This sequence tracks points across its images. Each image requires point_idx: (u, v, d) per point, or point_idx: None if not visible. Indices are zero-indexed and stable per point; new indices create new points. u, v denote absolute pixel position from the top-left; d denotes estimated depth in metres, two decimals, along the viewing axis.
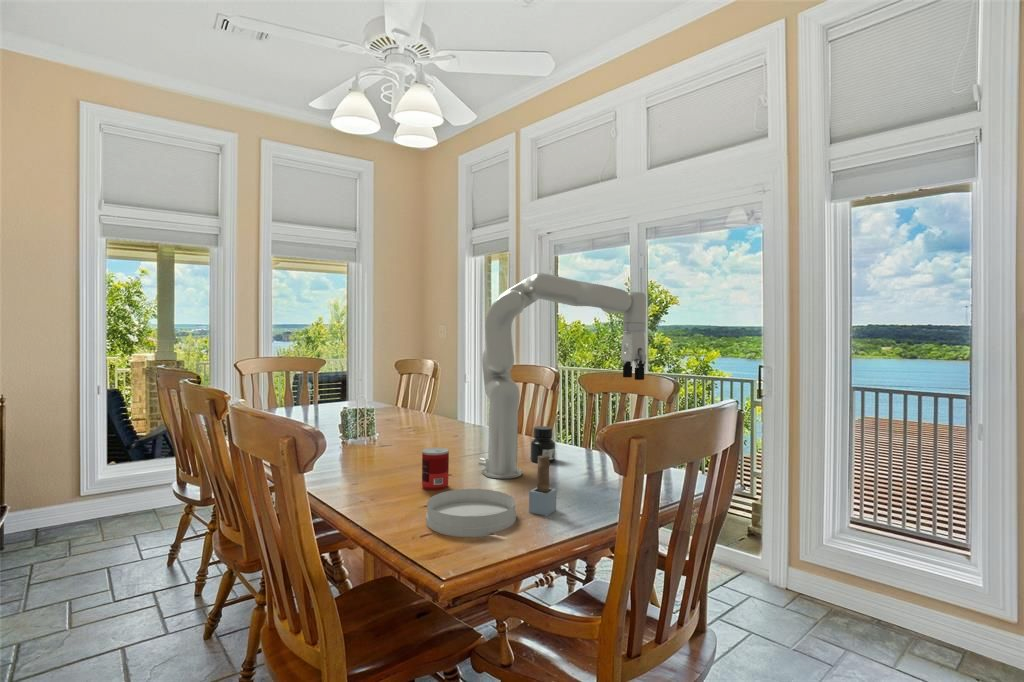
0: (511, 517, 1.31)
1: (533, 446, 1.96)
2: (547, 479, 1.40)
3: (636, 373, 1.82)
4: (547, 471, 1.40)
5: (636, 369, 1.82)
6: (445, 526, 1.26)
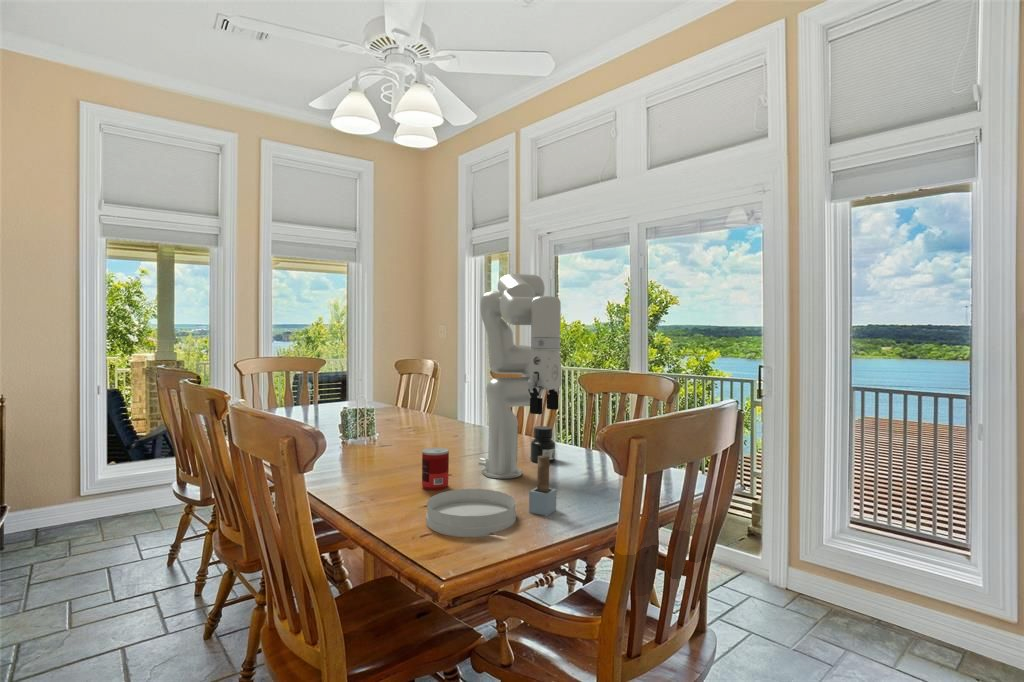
0: (511, 517, 1.31)
1: (533, 446, 1.96)
2: (547, 479, 1.40)
3: None
4: (547, 471, 1.40)
5: None
6: (445, 526, 1.26)
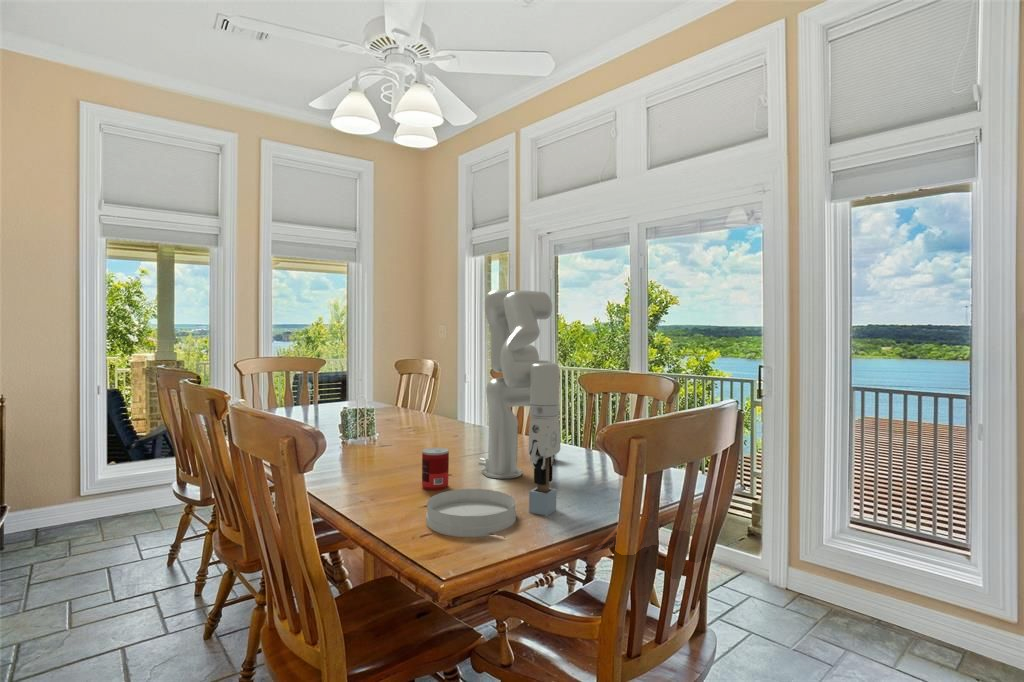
0: (511, 517, 1.31)
1: None
2: (547, 479, 1.40)
3: None
4: (547, 471, 1.40)
5: None
6: (445, 526, 1.26)
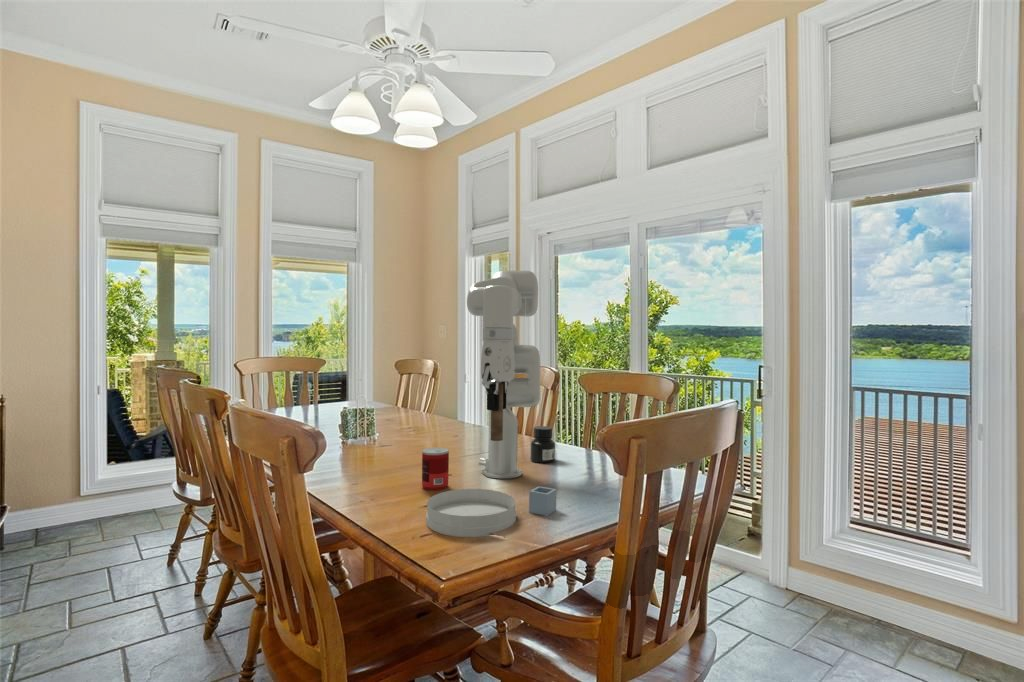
0: (511, 517, 1.31)
1: (533, 446, 1.96)
2: (501, 406, 1.35)
3: None
4: (501, 398, 1.35)
5: None
6: (445, 526, 1.26)
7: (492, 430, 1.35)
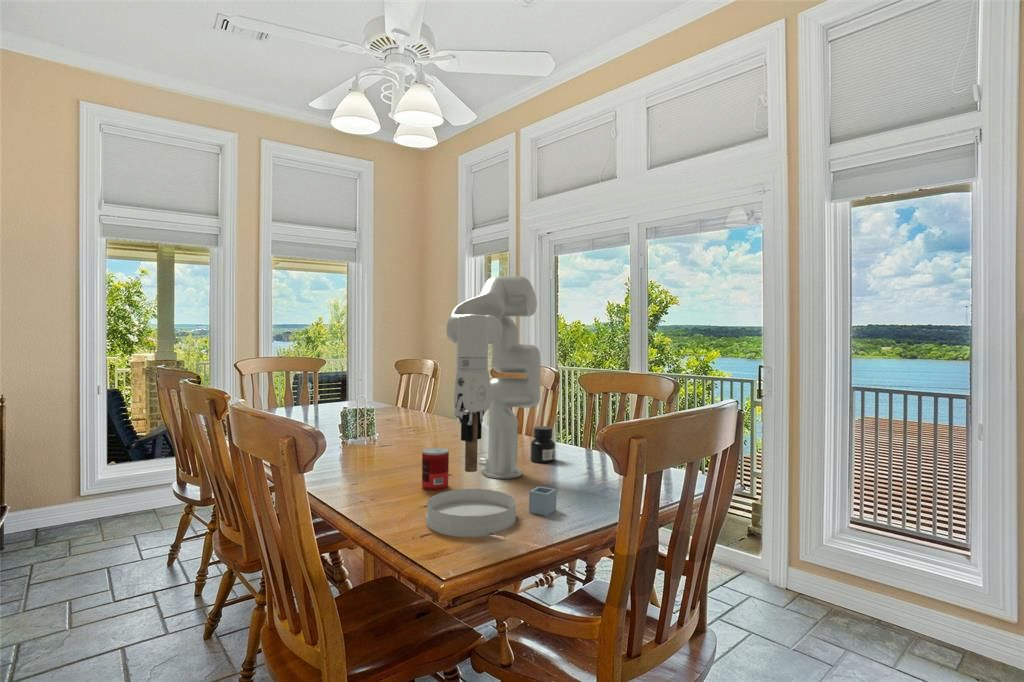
0: (511, 517, 1.31)
1: (533, 446, 1.96)
2: (475, 436, 1.33)
3: None
4: (475, 428, 1.33)
5: None
6: (445, 526, 1.26)
7: (466, 461, 1.33)
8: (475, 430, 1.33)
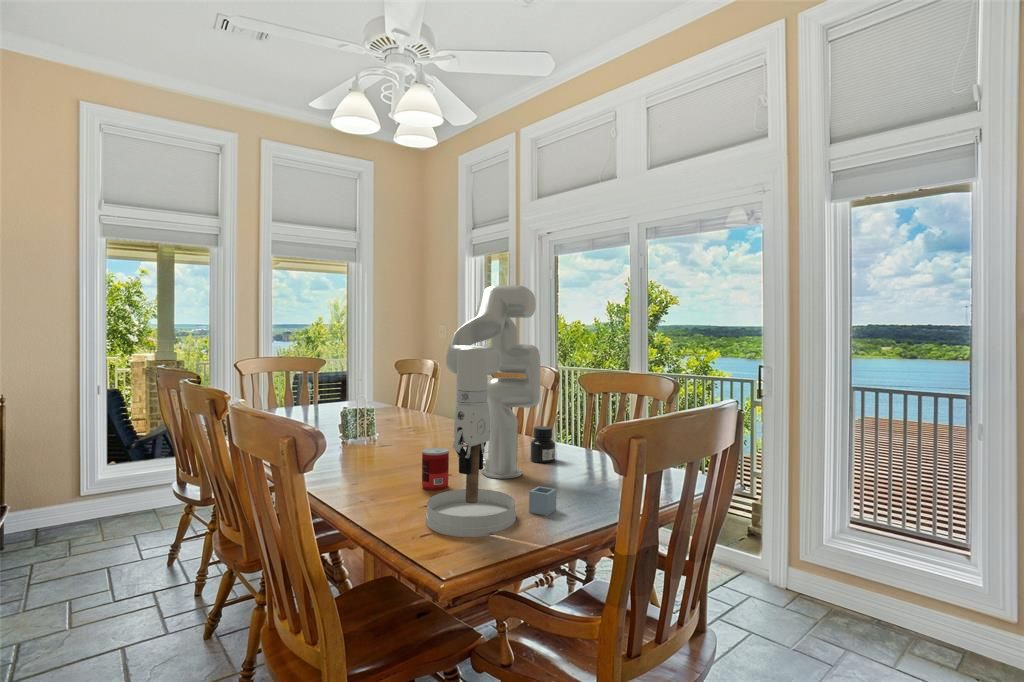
0: (511, 517, 1.31)
1: (533, 446, 1.96)
2: (476, 468, 1.34)
3: None
4: (476, 460, 1.34)
5: None
6: (445, 526, 1.26)
7: (467, 492, 1.34)
8: (476, 462, 1.34)
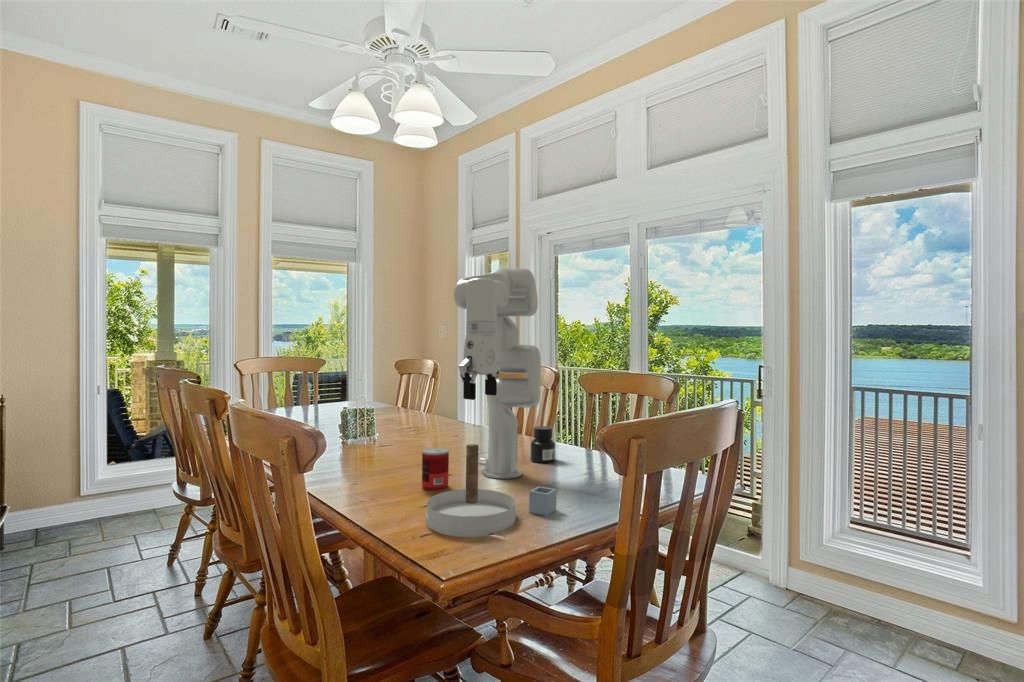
0: (511, 517, 1.31)
1: (533, 446, 1.96)
2: (476, 468, 1.34)
3: None
4: (476, 460, 1.34)
5: None
6: (445, 526, 1.26)
7: (467, 493, 1.34)
8: (476, 462, 1.34)
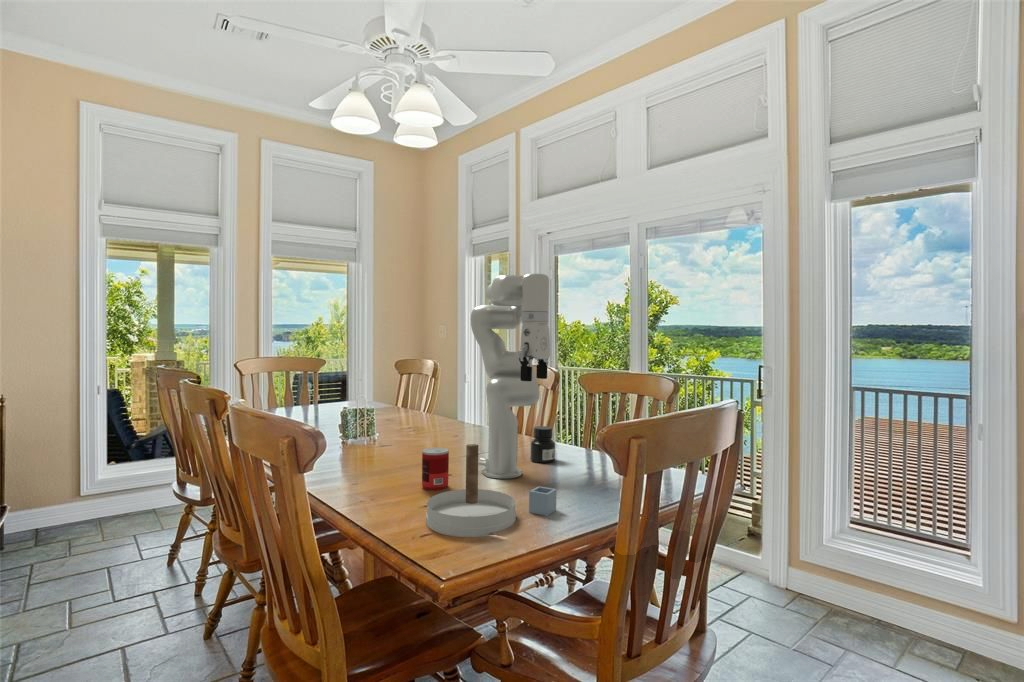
0: (511, 517, 1.31)
1: (533, 446, 1.96)
2: (476, 468, 1.34)
3: None
4: (475, 460, 1.34)
5: None
6: (445, 526, 1.26)
7: (467, 493, 1.34)
8: (476, 462, 1.34)
